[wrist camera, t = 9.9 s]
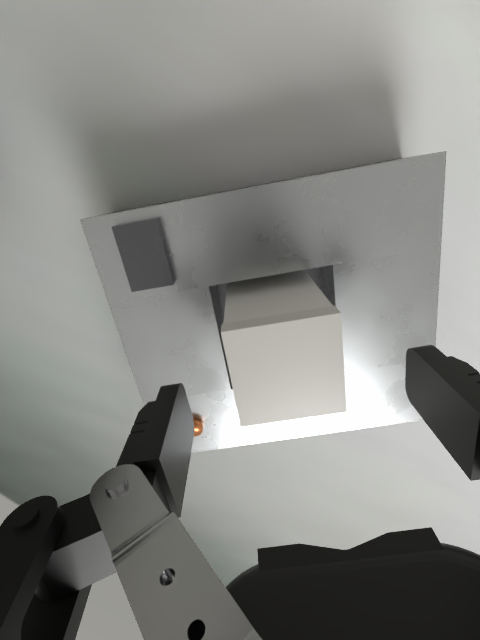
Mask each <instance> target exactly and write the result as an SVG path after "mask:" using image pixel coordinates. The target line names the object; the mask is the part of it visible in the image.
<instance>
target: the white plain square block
mask: <svg viewBox="0 0 480 640" xmlns="http://www.w3.org/2000/svg"><path fill="white" fill-rule="evenodd" d="M221 336H222V341H223V345H224V350H225V355H226V359H227V364H228V369H229V373H230V378H231V383H232V387H233V392H234V397H235V402H236V406H237V411H238V416H239V420H240V425H241V427H244V426H251V425H258V424H265V423H272V422H279V421H286V420H293V419H300V418H307V417H314V416H321V415H328V414H335V413H342V412H347V404H346V387H345V371H344V354H343V338H342V321H341V312H340V311H339V310H338V309H337V307H336V306H333V305H332V304H331V303H330V301H329V300H328V299H327V298H326V296H325V295H324V294H323V292H322V291H321V290H320V289H319V287H318V286H317V285H316V284H315V282H314V281H313V280H312V278H311V277H310V276H309V275H308V273H307V272H306V271H305V270H300V271H294V272H288V273H282V274H276V275H271V276H265V277H259V278H253V279H247V280H241V281H235V282H230V283H227V292H226V301H225V311H224V321H223V324H222V325H221Z"/></svg>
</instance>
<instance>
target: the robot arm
mask: <svg viewBox="0 0 480 640" xmlns="http://www.w3.org/2000/svg"><path fill="white" fill-rule="evenodd" d="M405 389H406V393H407V397H408V399H409V401H410V403H411V404H412V405H413V407H414V408H415V409H416V411H417V412H418V413H419V414H420V416H421V417H422V418H423V420H424V421H425V422H426V424H427V425H428V426H429V427H430V429H431V430H432V431H433V433H434V434H435V435H436V436H437V438H438V439H439V440H440V442H441V443H442V444H443V445H444V447H445V448H446V449H447V451H448V452H449V453H450V454H451V456H452V457H453V458H454V460H455V461H456V462H457V463H458V465H459V466H460V467H461V469H462V470H463V471H464V472H465V474H466V475H467V476H468V478H469V479H470V480H479V479H480V374H479V372H478V371H477V370H475V369H474V368H473V367H472V366H470V365H469V364H468V363H466V362H463V361H461V360H459V359H456V358H454V357H452V356H450V357H446V356H445V355H444V354H443V353H442V352H441V351H439V350H438V349H437V348H436V347H435V346H433V345H426V346H420V347H413V348H409V349H408V350H407V352H406V373H405ZM130 433H131V434H130V435H129V437H128V439H127V442H126V444H125V446H124V449H123V451H122V454H121V456H120V458H119V461H118V463H117V466H116V467H115V468H112V469H111V470H109V471H107V472H106V473H104V474H103V475H102V476H101V477H100V478H99V479H98V480H97V481H96V482H95V484H94V485H93V487H92V489H91V492H90V494H88V495H86V496H84V497H81V498H79V499H76V500H74V501H71V502H69V503H66V504H64V505H61V506H59V504H58V503H57V501H56V499H55V498H53V497H51V496H40V497H36V498H33V499H31V500H29V501H27V502H25V503H24V504H22V505H20V506H19V507H18V508H16V509H15V510H14V511H13V512H12V513H11V514H10V515H9V516H8V517H7V518H6V519H5V520H4V522H3V523H2V524H1V526H0V640H75V638H76V635H77V631H78V628H79V625H80V622H81V618H82V615H83V612H84V608H85V605H86V602H87V599H88V595H89V592H90V589H91V586H92V584H93V583H95V582H97V581H99V580H101V579H103V578H106V577H107V576H109V575H112V574H114V573H116V572H117V574H118V576H119V579H120V581H121V584H122V586H123V589H124V591H125V594H126V596H127V599H128V601H129V604H130V606H131V608H132V611H133V614H134V616H135V619H136V621H137V624H138V626H139V629H140V631H141V634H142V636H143V639H144V640H480V555H478V554H476V553H474V552H471V551H469V550H466V549H463V548H460V547H457V546H453V545H449V544H444V543H440V542H439V540H438V538H437V536H436V535H435V533H434V531H433V529H432V528H422V529H414V530H406V531H398V532H390V533H386V534H384V535H381V536H379V537H377V538H375V539H372V540H370V541H368V542H365V543H363V544H361V545H358V546H356V547H354V548H351V549H348V550H340V549H333V548H326V547H319V546H312V545H305V544H293V545H285V546H277V547H269V548H261V549H258V564H257V565H255V566H253V567H251V568H249V569H248V570H246V571H244V572H243V573H241V574H240V575H239V576H238V577H236V578H235V579H234V580H233V581H232V582H231V583H230V584H229V585H228V586H227V587H225V586H224V584H223V583H222V581H221V580H220V578H219V577H218V575H217V574H216V572H215V571H214V570H213V568H212V567H211V565H210V564H209V562H208V561H207V559H206V558H205V556H204V555H203V553H202V552H201V551H200V549H199V548H198V546H197V545H196V543H195V542H194V540H193V539H192V537H191V536H190V534H189V533H188V532H187V530H186V529H185V527H184V526H183V524H182V523H181V521H180V520H179V517H180V516H181V510H182V504H183V498H184V492H185V486H186V480H187V474H188V468H189V461H190V455H191V449H192V443H193V437H194V421H193V416H192V412H191V409H190V405H189V402H188V398H187V395H186V391H185V388H184V386H183V384H182V383H178V384H171V385H165V386H161V387H160V390H159V392H158V395H157V398H156V401H151V402H148V403H147V404H146V405H145V406H144V407H143V408H142V409H141V410H140V411H139V413H138V415H137V418H136V420H135V422H134V425H133V427H132V430H131V432H130Z"/></svg>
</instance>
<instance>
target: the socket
mask: <svg viewBox="0 0 480 640" xmlns="http://www.w3.org/2000/svg"><path fill="white" fill-rule="evenodd" d="M445 166H446V151H445V152H438V153H432V154H426V155H419V156H413V157H407V158H401V159H395V160H390V161H385V162H379V163H374V164H369V165H363V166H358V167H353V168H347V169H342V170H337V171H331V172H326V173H321V174H315V175H310V176H305V177H299V178H294V179H289V180H283V181H278V182H273V183H267V184H262V185H257V186H251V187H246V188H241V189H235V190H230V191H225V192H219V193H214V194H209V195H203V196H198V197H193V198H187V199H182V200H177V201H171V202H166V203H161V204H155V205H150V206H145V207H139V208H134V209H129V210H123V211H118V212H113V213H108V214H104V215H99V216H95V217H90V218H86V219H82V220H80V221H81V224H82V227H83V229H84V232H85V235H86V238H87V241H88V244H89V247H90V250H91V253H92V256H93V258H94V261H95V264H96V267H97V270H98V273H99V276H100V279H101V282H102V285H103V288H104V290H105V293H106V296H107V299H108V302H109V305H110V308H111V311H112V314H113V317H114V319H115V322H116V325H117V328H118V331H119V334H120V337H121V340H122V343H123V346H124V349H125V351H126V354H127V357H128V360H129V363H130V366H131V369H132V372H133V375H134V378H135V381H136V383H137V386H138V389H139V392H140V395H141V398H142V401H143V404H144V406H145V405H146V404H147V403H148V402H151V401H156V398H157V395H158V392H159V390H160V387H161V386H165V385H171V384H178V383H182V384H183V386H184V388H185V391H186V395H187V398H188V402H189V405H190V409H191V412H192V416H193V421H194V437H193V443H192V449H191V453H193V452H200V451H207V450H214V449H221V448H228V447H235V446H242V445H249V444H256V443H264V442H271V441H278V440H285V439H292V438H299V437H306V436H313V435H320V434H327V433H334V432H341V431H348V430H356V429H363V428H370V427H377V426H384V425H391V424H398V423H405V422H412V421H419V420H423V418H422V417H421V416H420V414H419V413H418V412H417V411H416V409H415V408H414V407H413V405H412V404H411V403H410V401H409V399H408V397H407V393H406V389H405V373H406V352H407V350H408V349H409V348H413V347H420V346H426V345H433V346H435V344H436V326H437V308H438V290H439V273H440V255H441V237H442V219H443V202H444V184H445ZM300 270H305V271H306V272H307V273H308V275H309V276H310V277H311V278H312V280H313V281H314V282H315V284H316V285H317V286H318V287H319V289H320V290H321V291H322V292H323V294H324V295H325V296H326V298H327V299H328V300H329V301H330V303H331V304H332V305H333V306H336V307H337V309H338V310H339V311H340V312H341V321H342V338H343V354H344V371H345V387H346V404H347V412H342V413H335V414H328V415H321V416H314V417H307V418H300V419H293V420H286V421H279V422H272V423H265V424H258V425H251V426H244V427H241V425H240V420H239V416H238V411H237V406H236V402H235V397H234V392H233V387H232V383H231V378H230V373H229V369H228V364H227V359H226V355H225V350H224V345H223V341H222V336H221V325H222V324H223V321H224V311H225V301H226V292H227V283H230V282H235V281H241V280H247V279H253V278H259V277H265V276H271V275H276V274H282V273H288V272H294V271H300Z"/></svg>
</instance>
